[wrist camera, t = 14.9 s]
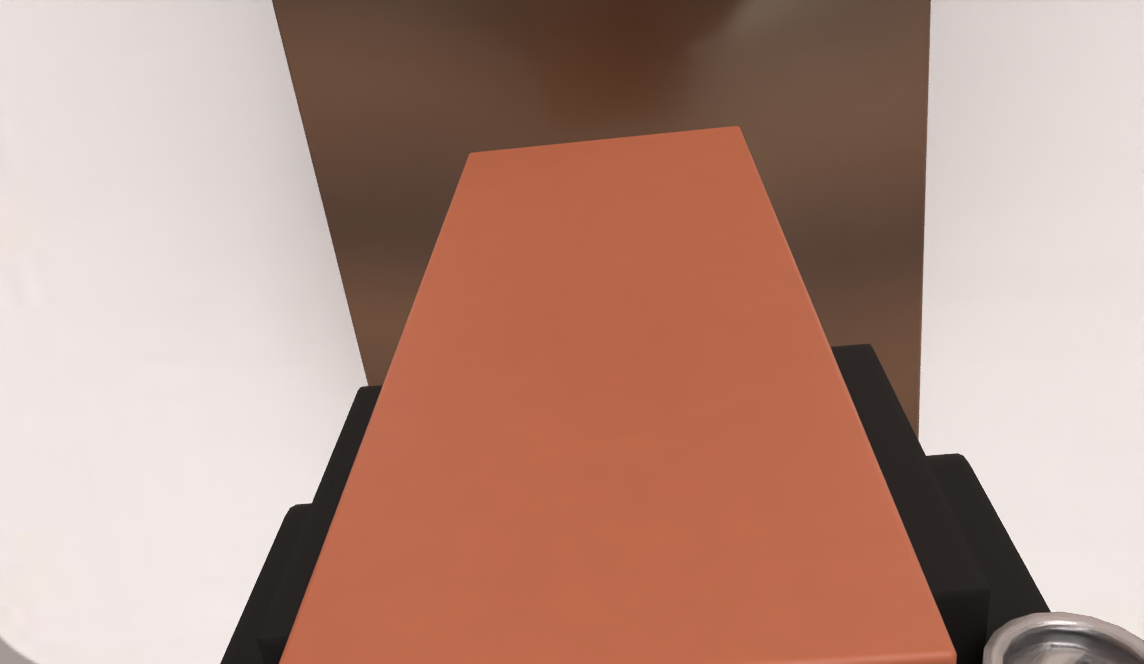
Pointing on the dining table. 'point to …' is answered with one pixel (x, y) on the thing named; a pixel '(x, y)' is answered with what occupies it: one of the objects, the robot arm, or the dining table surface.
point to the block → (616, 439)
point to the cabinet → (625, 131)
